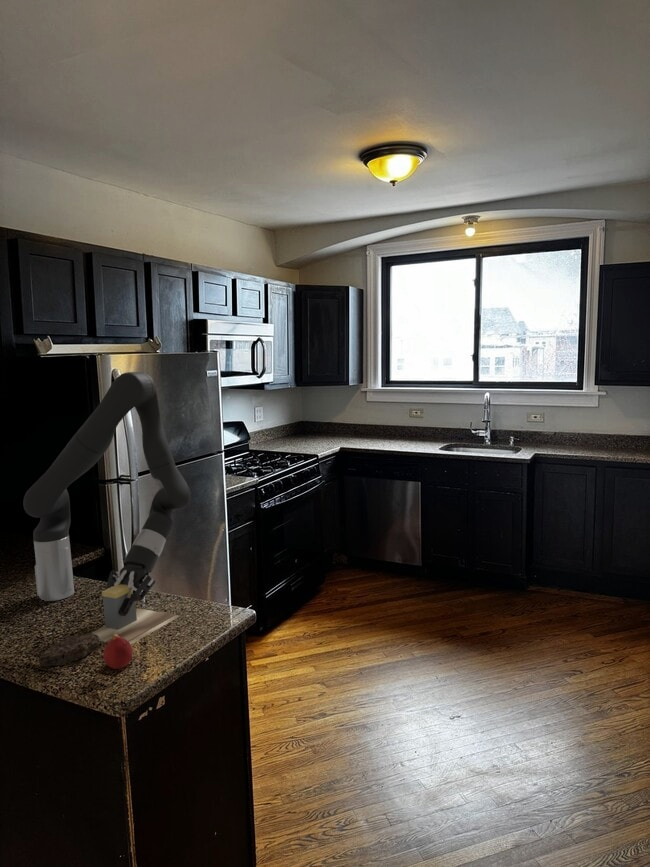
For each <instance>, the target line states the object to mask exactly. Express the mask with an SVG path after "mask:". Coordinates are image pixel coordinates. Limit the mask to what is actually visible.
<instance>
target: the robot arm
mask: <svg viewBox="0 0 650 867" xmlns="http://www.w3.org/2000/svg"><path fill="white" fill-rule="evenodd" d="M132 409H135V410H136V412H137V415H138V417H139V421H140V425H141V426H140V427H141V436H142V439H141V440H142V451H143V455H144V459H145V462H146V464H147V468H148V469H149V473H150V475H151V477H152V478H153V479H154V480H157V481H159V482H160V483H161V484H162V486H163V487H161V488H159V489H158V491H157V492H156V493H155V494H154V496H153V499H152V501H151V503H150V504H151V505H150V509H149V512H148V517H147V519H146V520H145V522H144V524H143V526H142V528H141V530H140V531H139V533H138V534H137V536H136V538H135V539H134V541H133V543H132V545H131V546H130V549H129V551H128V552H127V553H128V554H127V553H126V554H127V556H126V555H125V556H126V558H125V564H124V566H123V567H122V568H121V569H120V570H118V571H115V570H113V569H112V570H110V572H109V576H108V578H107V582H106V586H105V589H104V590H106V589H108V588H111V587H113V586H115V585H120V584H122V585H128V587H129V591H128V593H127V596H126V597H127V599H125V600H124V602H123V604H122V606H121V608H120V610H119V612H118V613H119V614H120V615H122V616H126V614H127V613H128V612H129V610H130V608H131V606H132V604H133V602H135V603H136V602H137V601H138V602H140V601H143V599H144V598H145V597H146V595H147V594H148V593H149V591H150V590H152V588H153V587H154V585H155V584H156V579H154V578H153V577H151V576H150V574H151V573H152V572H153V571H154V569H155V567H156V564H157V563H158V560H159V558H160V557H161V554H162V552H163V550H164V547H165V545H166V542H167V539H168V538H169V535H170V533H171V532H172V529H173V526H174V521H173V519H172V518H171V516H172V515H173V512H174V511H177V510H182V509H185V508H186V507H188V506H189V504H190V502H191V498H192V497H191V496H192V495H191V489H190V487H189V484H188V483H187V481H186V479H185V478H184V476H183V475H182V473H181V471H179V469H178V468H177V466H176V463H175V460H174V457H173V454H172V451H171V448H170V447H171V446H169V442H168V439H167V435H166V432H165V428H164V427H165V426H164V424H163V419H162V414H161V410H160V404H159V397H158V391H157V387H156V384H155V381H154V379H153V378H152V377H151V375H149V374H147V373H144V372H140V371H138V372H137V371H128V372H123V373H121V374H119V375H118V376H117V377H116V378H115V379H114V381H113V382H112V383H111V385H110V386H109V388H108V390H107V391H106V393H105V395H104V396H103V398H102V399H101V401H100V403H99V404H98V405H97V407H96V408H95V410H94V411H92V413H91V414H90V415H89V416H88V418H87V419H86V420H85V421H84V422H83V424H82V425H81V426H80V427H79V429H78V430H77V431H76V432H75V434H74V435H73V436H72V437H71V439H70V440H69V441H68V442H67V444H66V446H65V447H64V448H63V449H62V451H61V452H60V453H59V455H58V456H56V457H55V458H56V459H55V460H54V461H53V462H52V464H51V466H50V467H49V468H48V469H47V470H46V471H45V473H43V474H42V475H41V476H40V477H39V478H38V479H37V480H36V481H35V482H34V483H33V484H32V486H31V487H30V488H29V489H27V491H26V492H25V494H24V497H23V500H22V502H23V503H22V505H23V509H24V511H25V513H26V514H28V516H30V517H32V518H38V519H39V518H40V520H39V523H38V524H37V526H36V527H35V528H34V529H33V531H32V532H33V533H32V536H33V537H32V538H33V545H34V546H33V548H34V554H35V555H34V557H35V565H34V574H35V582H36V583H35V584H36V585H35V586H36V593H37V597H38V596H39V597H38V598H39V600H40V599H41V600H40V601H42V600H44V601H43V602H54V601H60V600H63V599H66V598H69V597H71V596H73V595H74V594H75V587H74V585H75V584H74V574H73V564H72V553H71V543H70V542H71V541H70V534H69V533H70V532H69V530H70V526H71V522H72V520H71V519H72V518H71V502H70V495H69V492H68V490H67V488H68V487H69V486H70V485H71V484H72V483H74V482H75V481H77V479H79V478H80V477H81V476H83V475H84V474H86V472H88V471H89V470H90V469H92V468H93V467H94V466H95V465H96V464H97V463H98V462H99V461H100V459H102V457H103V455H104V454H105V453H106V451H107V450H108V448H109V447H110V446H111V444H112V442H113V438H114V436H115V432H116V430H117V427H118V425H119V424H120V422H121V421H122V420H123V419H124V418H125V417H126V415H128V413H129V412H131V410H132ZM133 585H134V586H133ZM132 593H134V594H132Z"/></svg>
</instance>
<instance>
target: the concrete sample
mask: <svg viewBox="0 0 650 867" xmlns="http://www.w3.org/2000/svg"><path fill="white" fill-rule="evenodd" d="M100 644H101V641H100V638H99V636H98V635H96V634H94V633H92V632H89V633H85V634H83V635H75V636H69V637H66V638H63V639H62V640H60V641H58V642H57V643H55V644H53V645H51V646H50V647H49V648H47V649H46V650H45V651H44V652H42V653H41V655H39V658H38V659H37V662H38V663H39V664H38V665H39V667H50V666H67V663H71V662H73V661H79V660H81V659H83V658H85V657H86V656H88V655H89V654H90V653H91V652H93V651H95V650H96V649H99V645H100Z"/></svg>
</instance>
